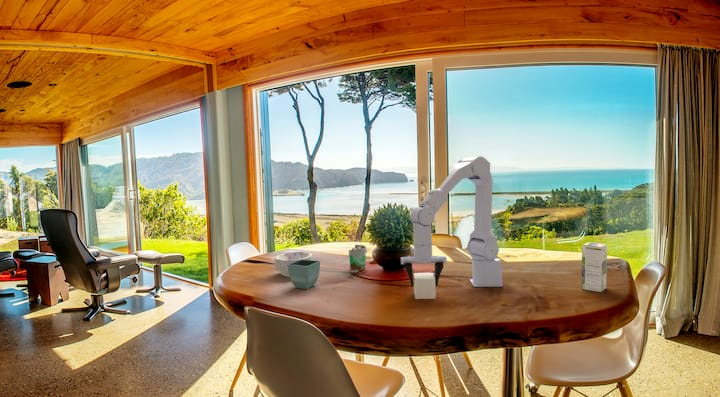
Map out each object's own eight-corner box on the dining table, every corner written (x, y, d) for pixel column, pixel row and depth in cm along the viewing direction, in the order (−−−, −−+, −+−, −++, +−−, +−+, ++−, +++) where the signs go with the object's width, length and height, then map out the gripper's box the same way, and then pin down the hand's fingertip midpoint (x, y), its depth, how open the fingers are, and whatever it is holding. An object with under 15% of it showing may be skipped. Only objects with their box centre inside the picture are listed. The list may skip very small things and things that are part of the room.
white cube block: (433, 291, 124) (433, 272, 123) (435, 298, 118) (435, 278, 117) (414, 291, 125) (413, 272, 124) (415, 298, 118) (414, 279, 118)
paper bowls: (276, 281, 146) (274, 260, 146) (275, 271, 161) (274, 253, 160) (315, 277, 150) (314, 257, 149) (311, 268, 164) (310, 250, 164)
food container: (365, 275, 149) (363, 250, 148) (349, 275, 150) (348, 250, 149) (370, 267, 161) (369, 244, 160) (356, 267, 162) (355, 244, 161)
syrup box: (586, 285, 125) (586, 241, 124) (607, 288, 120) (607, 243, 120) (581, 289, 121) (581, 244, 120) (602, 292, 116) (602, 246, 116)
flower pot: (322, 284, 139) (320, 260, 138) (309, 291, 131) (307, 266, 130) (301, 282, 142) (300, 259, 142) (288, 289, 134) (286, 264, 134)
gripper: (400, 246, 118) (401, 289, 119) (447, 245, 117) (448, 288, 117) (400, 242, 125) (401, 283, 126) (444, 241, 124) (445, 282, 124)
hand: (424, 285), depth 122 cm, fingers open, 7 cm apart
